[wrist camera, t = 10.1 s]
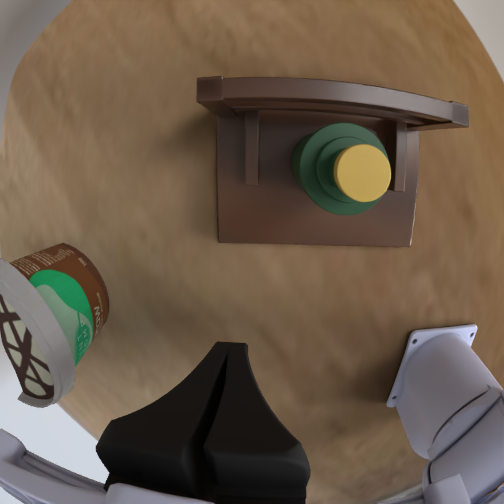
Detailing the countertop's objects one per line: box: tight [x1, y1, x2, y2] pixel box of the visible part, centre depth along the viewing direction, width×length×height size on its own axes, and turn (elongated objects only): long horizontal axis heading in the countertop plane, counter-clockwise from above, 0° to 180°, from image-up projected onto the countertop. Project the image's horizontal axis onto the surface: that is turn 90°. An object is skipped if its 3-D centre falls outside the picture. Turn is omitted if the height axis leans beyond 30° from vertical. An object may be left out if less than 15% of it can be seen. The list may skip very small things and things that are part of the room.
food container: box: [0, 243, 109, 408], centre depth 19 cm, size 12×6×10 cm, turn 169°
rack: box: [197, 76, 469, 247], centre depth 16 cm, size 11×14×7 cm
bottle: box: [291, 122, 391, 215], centre depth 14 cm, size 4×4×9 cm
